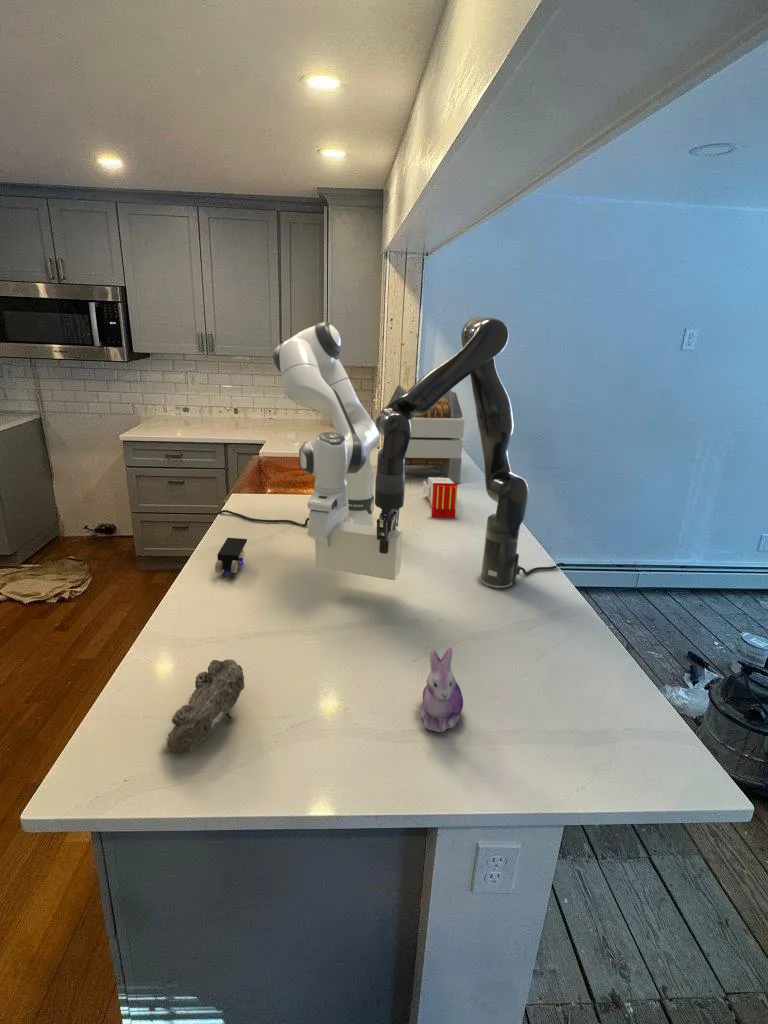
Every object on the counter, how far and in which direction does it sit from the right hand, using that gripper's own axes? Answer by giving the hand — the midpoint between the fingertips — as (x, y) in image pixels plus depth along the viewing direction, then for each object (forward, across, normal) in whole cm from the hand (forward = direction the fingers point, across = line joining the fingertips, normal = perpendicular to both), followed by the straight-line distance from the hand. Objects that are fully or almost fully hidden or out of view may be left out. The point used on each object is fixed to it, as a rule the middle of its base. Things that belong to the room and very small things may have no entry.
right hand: (387, 548), depth 151 cm
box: (+8, 0, +8) cm, 11 cm away
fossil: (+15, -58, +18) cm, 62 cm away
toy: (+15, +80, 0) cm, 82 cm away
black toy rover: (+15, 0, +47) cm, 49 cm away
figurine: (+15, -44, -24) cm, 52 cm away
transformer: (+15, +126, +19) cm, 128 cm away
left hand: (+1, 0, +16) cm, 16 cm away
